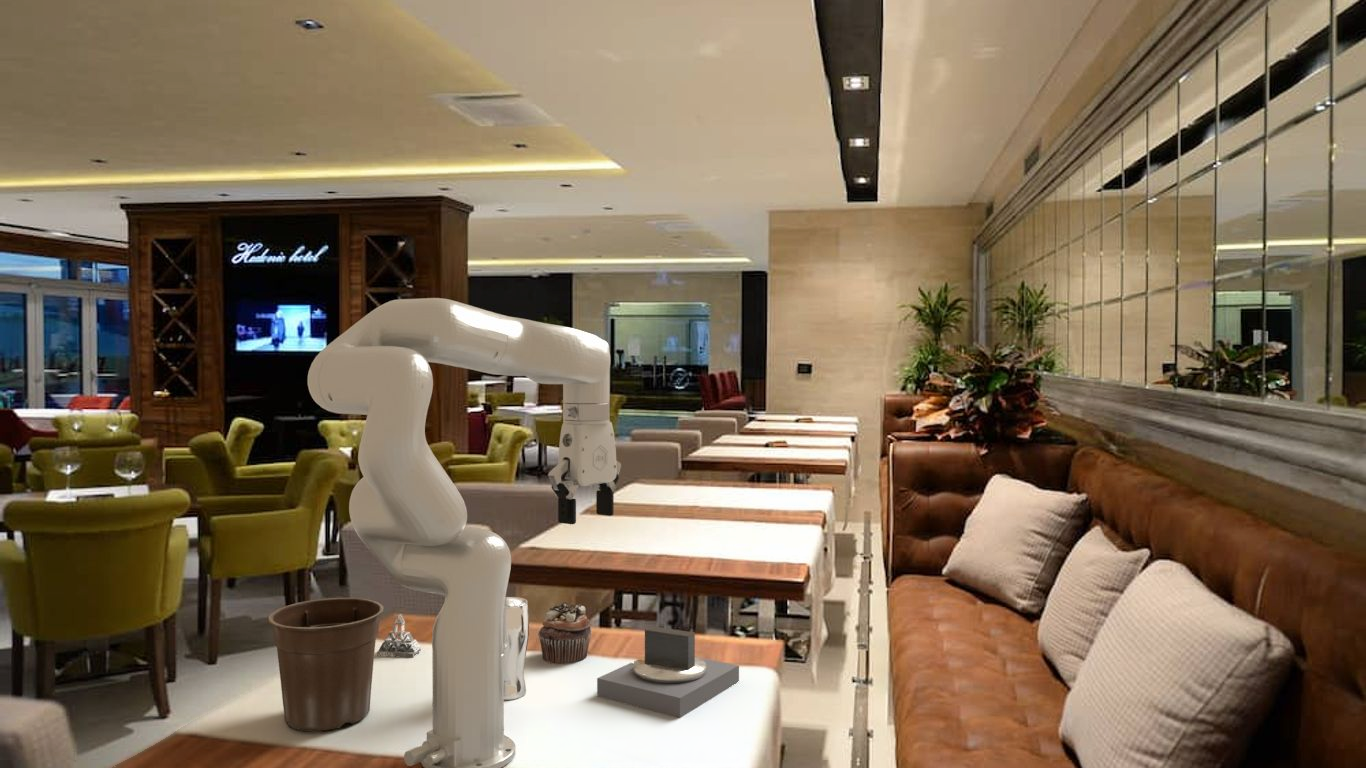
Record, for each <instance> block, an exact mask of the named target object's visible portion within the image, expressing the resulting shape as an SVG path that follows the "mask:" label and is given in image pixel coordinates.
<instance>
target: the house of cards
mask: <svg viewBox="0 0 1366 768" xmlns="http://www.w3.org/2000/svg"><path fill="white" fill-rule="evenodd" d="M398 620H400V621H398ZM405 623H406V621H405V619H404V618H403V615H402V614H401V613H400V614H399V615H397V617H396V618H395V621H394V622H393V625H394V630H391V631H389V633H387V636H386V637H385V639H384V642H382V644H381V645H380V648H379V649H378V651H376V656H378V657H386V656H400V657H399V658H415V657H416V656H417V655H416V654H418V655H419V653H420V652H421V650H422V647H421V645H420V644H419V642H418V641H417V639H415V638H414V637H413V636H412V634H411V632H410V631H405ZM398 625H401V631H400V630H399V631H398ZM394 634H396V636H395V635H394ZM398 637H399V639H398ZM419 651H420V652H419ZM415 655H416V656H415ZM414 656H415V657H414Z"/></svg>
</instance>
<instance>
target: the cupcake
mask: <svg viewBox="0 0 1366 768" xmlns="http://www.w3.org/2000/svg"><path fill="white" fill-rule="evenodd" d="M545 616H546V617H545V619H544V620H543V622H542V627H541V628H540V629H539V631H538V632H537V633H538V634H537V635H538V638H539V639H538V640H539V643H540V649H541V654H542V659H543V661H545V662H547V663H551V664H556V665H557V664H558V665H563V664H564V665H567V664H575V663H578V662H582V661H584V659H586V658H587V657H588V652H589V646H590V640H591V636H592V629H591V622H590V621H591V620H590V619H589V618H588V617H587V614H586V607H585V606H584V605H581V604H571V605H570V606H568V603H567V602H565V601H564V602H562V603H561V604H560V605H554V606H553V607H549V611H547V612H546V613H545Z"/></svg>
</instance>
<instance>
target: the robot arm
mask: <svg viewBox="0 0 1366 768" xmlns="http://www.w3.org/2000/svg"><path fill="white" fill-rule="evenodd" d="M610 353H611V352H610V345H609V343H608V341H606V340H605V339H602V338H600V337H599V336H598V335H596V334H595V333H594V334H593V333H589V332H587V331H584V330H581V329H577V328H573V327H569V326H564V325H559V324H553V323H551V324H550V323H546V322H539V321H536V320H531V319H526V318H520V317H514V316H508V315H504V314H501V313H497V312H493V311H490V310H486V309H484V308H480V307H476V306H473V305H470V304H466V303H463V302H460V301H456V300H452V299H448V298H440V297H428V298H427V297H426V298H422V297H421V298H402V299H401V298H399V299H393V300H389V301H388V302H385V303H383V304H381V305H380V306H377V307H375V308H374V309H373V310H371V311H370V312H369V313H367V314H365V316H363V317H362V318H361V319H358V321H357V322H355V323H354V324H353V325H351V327H349V328H348V329H347V330H345V331H344V332H343V333H341V334H340V335H339V336H337V337H336V338H335V339H333V341H331V342H330V343H329V344H328V345H326V346H325V347H324V348H322V349H321V351H319V353H318V354H317V355H316V356H315V357H314V359H313V361H312V362H311V364H310V367H309V370H308V372H307V373H308V374H307V387H308V391H309V394H310V396H311V398H312V399H313V401H314V402H315V403H316V404H317V405H318V406H320V408H322V409H324V410H326V411H327V412H330V413H334V414H341V415H365V416H366V420H365V422H364V428H363V431H362V436H361V439H360V442H359V443H360V444H359V447H358V455H357V460H358V466H359V470H360V472H361V474H362V478H361V479H359V480H358V481H357V483H356V484H355V486H354V488H353V489H352V491H351V494H350V498H349V503H348V505H349V506H348V512H349V518H350V521H351V525H352V527H353V529H354V531H355V533H356V534H357V536H358V537H359V539H360V540H361V541H362V542H363V544H364V545H365V546H366V547H367V549H368V550H369V552H370V553H371V554H372V555H373V556H374V558H375V559H376V560H377V561H378V563H379V564H380V565H381V566H382V568H384V570H385V571H386V573H388V575H390V577H391V578H392V579H393V580H395V582H397V583H398V584H399V585H401V586H403V587H404V588H407V589H410V590H413V591H418V592H424V593H429V594H434V595H439V596H444V597H445V599H444V602H443V605H442V607H441V609H440V611H439V612H438V614H437V616H436V618H435V621H434V624H433V628H432V633H431V635H432V637H431V648H432V651H431V652H432V668H431V669H432V729H431V730H428V731H427V732H426V740H425V741H423V742H422V743H421V744H422V745H420V746H416V747H414V748H411V749H409V750H407V751H405V752H404V754H403V759H404V762H405V764H406V766H408V767H412V766H415V765H416V764H418V763H421V765H422V767H423V768H503V767H505V766H506V765H508V764H509V763H510V762H511V761H512V760H513V759H514V758H515V755H516V744H515V742H514V740H513V739H511V738H510V737H509V736H507V735H505V730H504V727H505V726H504V725H505V717H504V716H505V710H504V709H505V707H504V705H505V703H504V701H505V700H504V606H505V597H507V591H508V585H509V579H510V573H511V567H512V556H511V550H510V547H509V545H508V544H507V541H505V540H504V539H503V538H502V537H501V536H500V535H499V534H497V533H495V532H493V531H490V530H488V529H486V528H485V529H484V528H481V527H473V526H467V525H466V524H467V521H468V509H467V506H466V502H465V501H464V499H463V496H462V495H461V493H460V492H459V490H458V488H457V487H456V485H455V484H454V483H453V480H452V479H451V477H450V476H449V474H447V472H446V470H445V469H444V468H443V466H442V465H441V463H440V462H439V461H438V459H437V457H436V456H435V454H434V453H433V451H432V449H431V448H430V446H429V444H428V442H427V438H426V432H425V431H426V429H425V428H426V420H427V415H428V411H429V405H430V403H431V400H432V394H433V387H434V379H433V372H432V369H431V367H430V364H429V363H435V364H441V365H445V366H451V367H456V368H461V369H468V370H473V371H476V372H481V373H486V374H491V375H497V376H498V375H499V376H500V375H501V376H507V377H509V376H512V377H526V378H528V379H529V380H530V381H532V382H534V383H536V384H537V383H538V384H541V385H562V389H563V391H562V394H563V395H562V403H563V404H562V407H563V408H562V416H563V417H562V422H563V423H562V425H561V429H560V435H559V436H560V437H559V444H558V446H559V447H558V458H557V459H558V460H557V461H558V462H557V463H558V464H557V465H555V466H554V467H553V468H552V469H551V470H550V471H548V474H547V476H548V479H549V482H550V485H551V490H552V491H553V492H554V496H555V498H556V499H557V501H558V502H557V506H558V507H557V517H558V518H557V519H558V523H559V524H566V525H576V523H577V499H576V498H574V495H575V494H576V492H577V490H578V488H579V487H580V486H581V487H587V486H589V487H590V486H595V485H596V486H597V487H598V489H599V490H596V495H595V496H596V497H595V498H596V501H595V503H596V511H595V512H596V513H595V514H597V515H598V516H608V517H610V516H613V515H614V512H615V511H614V506H615V505H614V494H615V493H614V492H616V490H617V486H616V484H617V483H618V481H619V478H620V477H619V475H620V472H621V468H622V463H621V462H620V461H618V460H617V449H616V448H617V447H616V439H615V432H614V427H613V422H612V421H611V420H610V410H611V409H610V397H611V396H610V388H611V387H610V386H611V385H610V377H611V376H610V370H611V369H610V368H611V354H610Z"/></svg>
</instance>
